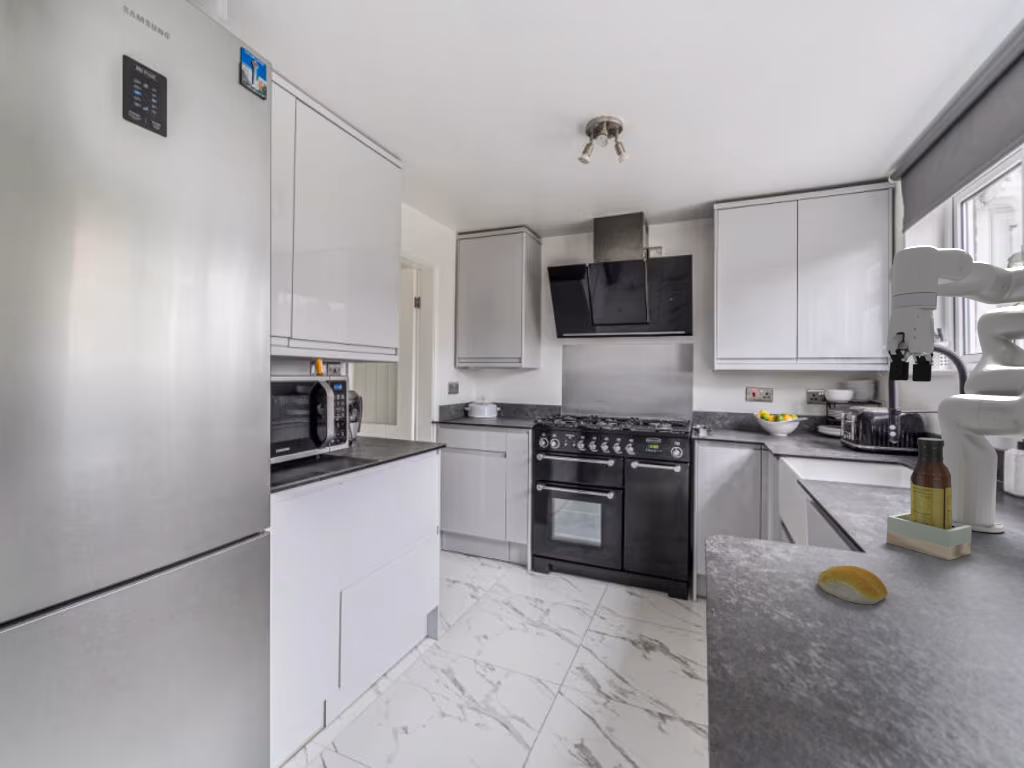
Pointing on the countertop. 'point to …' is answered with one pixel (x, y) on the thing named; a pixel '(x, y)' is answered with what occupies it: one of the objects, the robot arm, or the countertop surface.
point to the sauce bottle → (931, 486)
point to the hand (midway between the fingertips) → (910, 380)
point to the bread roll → (852, 584)
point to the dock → (928, 537)
